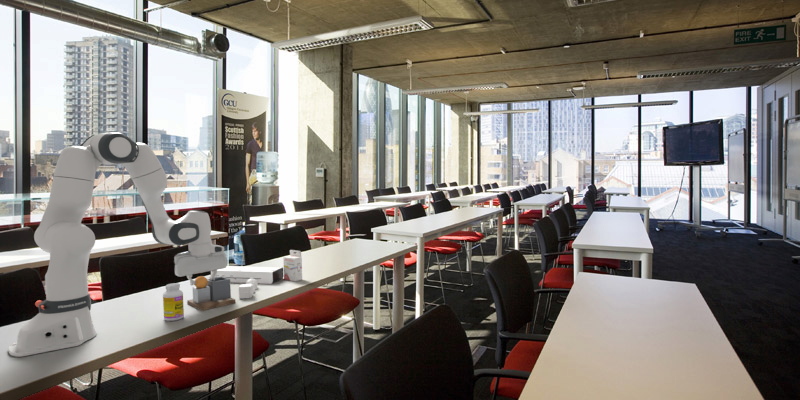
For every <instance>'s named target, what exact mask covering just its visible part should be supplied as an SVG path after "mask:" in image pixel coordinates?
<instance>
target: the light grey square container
mask: <svg viewBox="0 0 800 400" xmlns="http://www.w3.org/2000/svg"><path fill="white" fill-rule="evenodd" d="M192 299H193V302H195V303H197V304H201V303H205V302H210V301H211V300H210V287H209V286H206V287H204V288H197V287H196V286H193V287H192Z"/></svg>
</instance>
